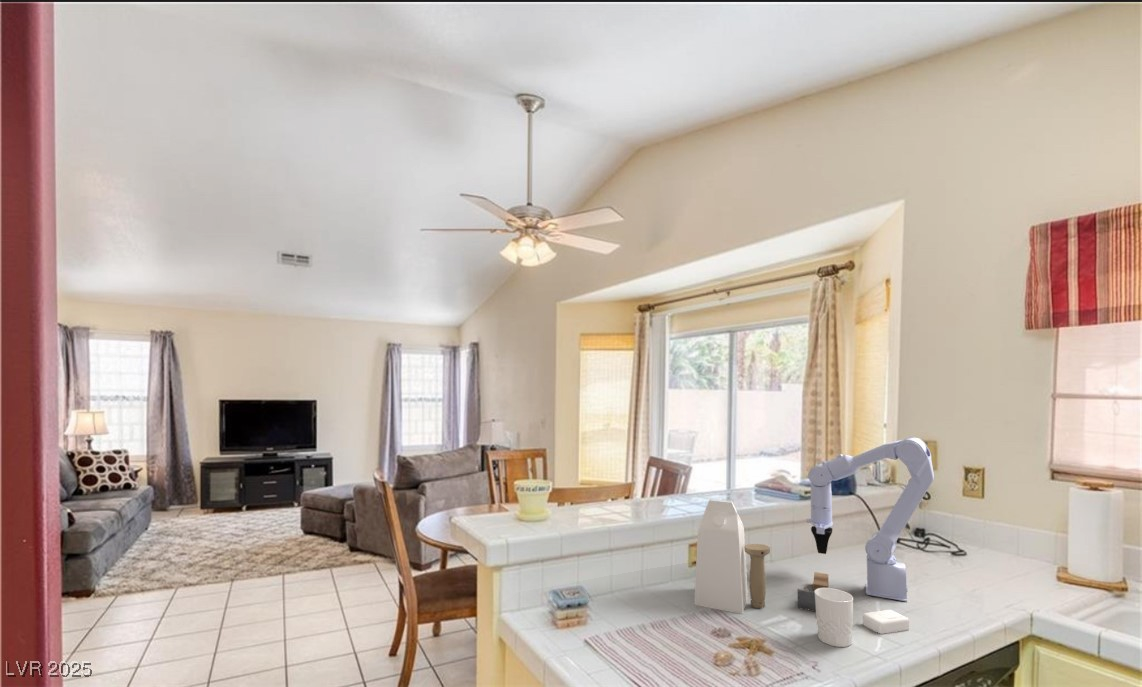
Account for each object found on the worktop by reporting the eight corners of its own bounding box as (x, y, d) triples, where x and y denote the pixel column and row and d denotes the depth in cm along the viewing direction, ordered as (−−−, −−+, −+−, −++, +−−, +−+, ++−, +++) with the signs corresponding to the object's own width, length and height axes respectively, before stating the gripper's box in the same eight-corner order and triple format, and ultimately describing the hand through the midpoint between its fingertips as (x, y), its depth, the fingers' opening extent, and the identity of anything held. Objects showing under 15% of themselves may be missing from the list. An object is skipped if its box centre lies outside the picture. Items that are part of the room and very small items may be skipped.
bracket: (799, 598, 141) (799, 581, 141) (840, 606, 136) (839, 588, 137) (797, 607, 135) (797, 590, 135) (839, 616, 131) (839, 597, 131)
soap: (890, 620, 129) (890, 608, 129) (910, 631, 124) (910, 618, 124) (861, 625, 127) (861, 612, 127) (880, 636, 121) (880, 622, 121)
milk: (747, 596, 142) (746, 498, 144) (742, 613, 131) (741, 508, 133) (702, 588, 147) (702, 494, 149) (694, 604, 136) (693, 502, 138)
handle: (774, 609, 134) (773, 549, 135) (751, 611, 133) (751, 550, 134) (763, 601, 139) (762, 543, 140) (741, 603, 137) (741, 544, 138)
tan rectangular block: (814, 584, 151) (814, 572, 151) (828, 587, 150) (828, 574, 150) (813, 597, 142) (813, 584, 142) (828, 600, 141) (827, 586, 141)
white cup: (808, 632, 122) (807, 588, 123) (840, 631, 123) (839, 587, 123) (827, 649, 114) (826, 602, 115) (862, 648, 115) (861, 601, 116)
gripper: (808, 499, 164) (809, 544, 164) (804, 509, 152) (805, 557, 151) (833, 502, 161) (834, 547, 160) (832, 512, 148) (832, 562, 148)
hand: (822, 552), depth 155 cm, fingers closed
